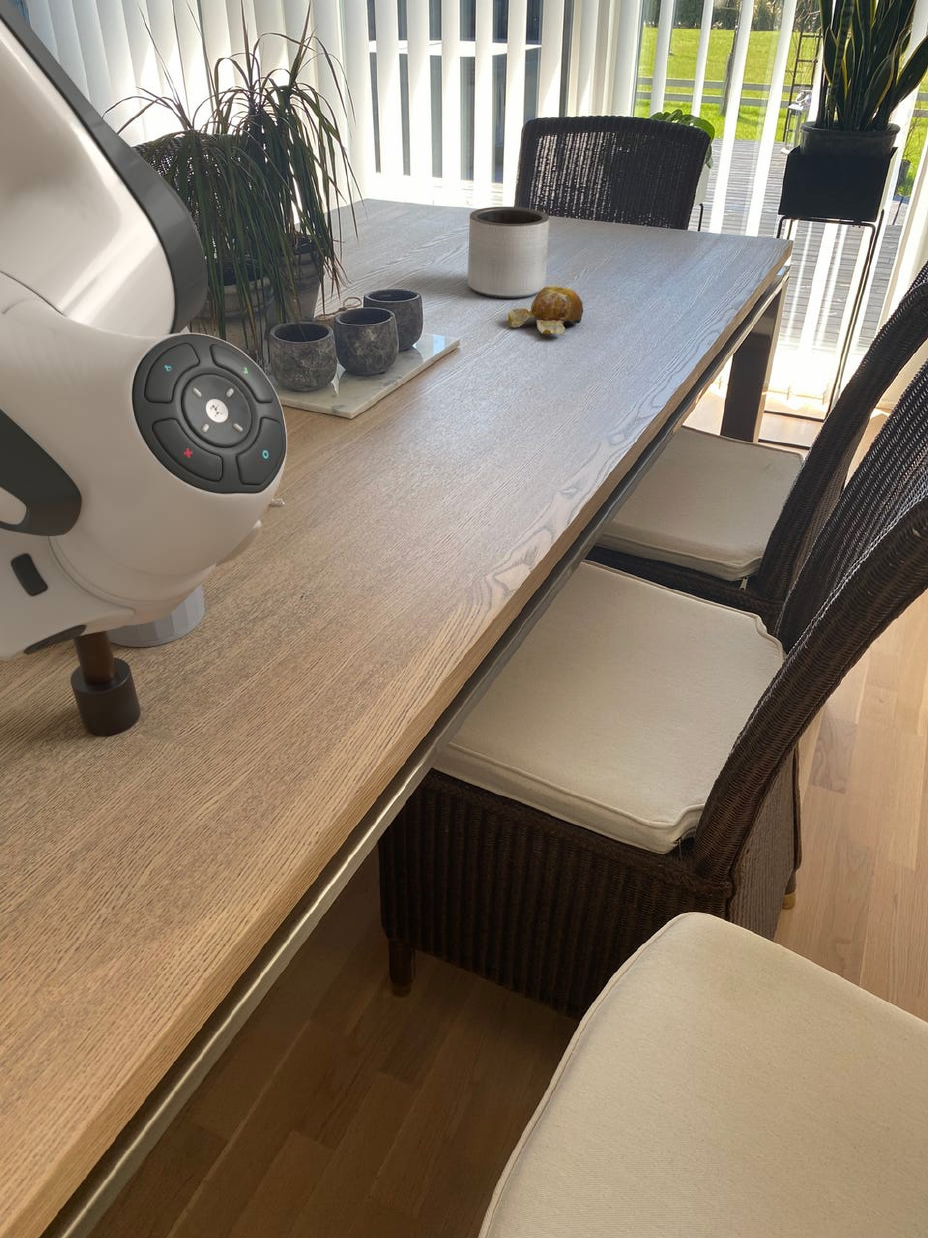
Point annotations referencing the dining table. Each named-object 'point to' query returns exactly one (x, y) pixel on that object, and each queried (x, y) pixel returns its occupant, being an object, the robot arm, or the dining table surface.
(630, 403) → the dining table surface
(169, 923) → the dining table surface
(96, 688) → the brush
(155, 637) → the gray cylindrical container
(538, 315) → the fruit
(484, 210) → the planter
